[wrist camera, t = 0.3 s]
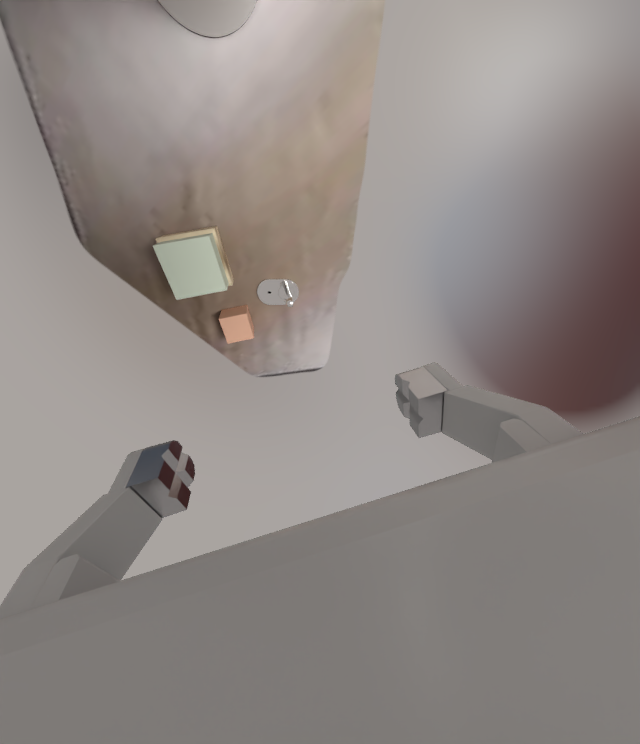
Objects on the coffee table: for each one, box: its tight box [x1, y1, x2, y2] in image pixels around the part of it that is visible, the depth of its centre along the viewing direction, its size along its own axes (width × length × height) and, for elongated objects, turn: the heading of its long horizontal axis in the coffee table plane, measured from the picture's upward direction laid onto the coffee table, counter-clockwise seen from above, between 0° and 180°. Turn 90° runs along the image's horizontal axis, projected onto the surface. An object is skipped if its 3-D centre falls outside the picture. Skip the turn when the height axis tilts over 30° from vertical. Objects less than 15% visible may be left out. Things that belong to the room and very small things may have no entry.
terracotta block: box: [219, 305, 254, 344], centre depth 53 cm, size 5×5×5 cm
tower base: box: [155, 226, 234, 286], centre depth 46 cm, size 9×9×4 cm
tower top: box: [153, 233, 229, 300], centre depth 43 cm, size 8×8×4 cm
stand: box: [257, 279, 299, 307], centre depth 50 cm, size 8×5×8 cm
